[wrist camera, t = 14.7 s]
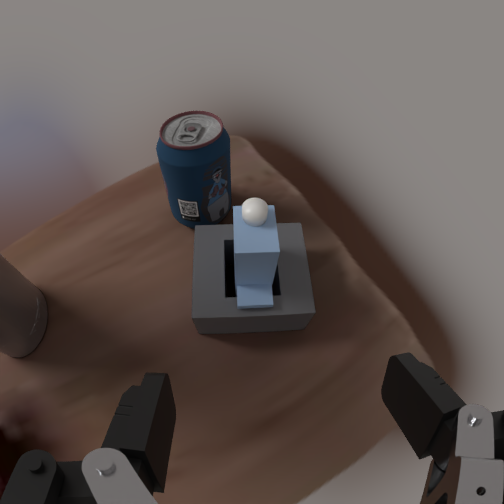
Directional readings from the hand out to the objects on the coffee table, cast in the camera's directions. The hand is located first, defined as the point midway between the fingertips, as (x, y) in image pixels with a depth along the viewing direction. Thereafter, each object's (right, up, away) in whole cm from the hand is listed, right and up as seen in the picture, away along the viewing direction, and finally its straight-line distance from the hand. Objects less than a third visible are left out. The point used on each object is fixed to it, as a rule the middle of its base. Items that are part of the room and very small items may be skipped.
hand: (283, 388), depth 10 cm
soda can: (-7, +10, +26) cm, 28 cm away
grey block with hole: (-1, +1, +20) cm, 20 cm away
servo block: (-1, +1, +20) cm, 20 cm away
